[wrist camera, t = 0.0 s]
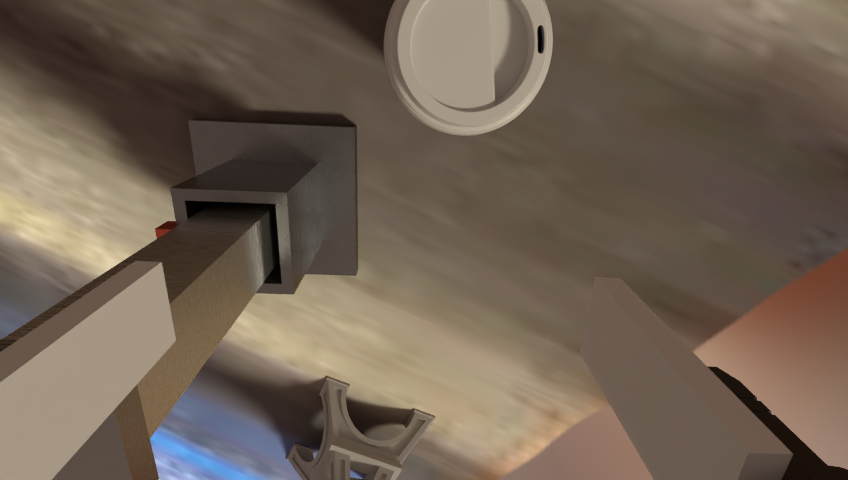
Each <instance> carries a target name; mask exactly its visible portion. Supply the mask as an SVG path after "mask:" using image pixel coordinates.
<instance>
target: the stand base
mask: <svg viewBox="0 0 848 480" xmlns="http://www.w3.org/2000/svg"><path fill="white" fill-rule="evenodd" d="M188 124H189V131H190V138H191V145H192V152H193V159H194V166H195V173H196V176H195V177H193V178H191V179H189V180H187V181H185V182H183V183H180V184H178V185H176V186H174V187H172V188H170V189H171V195H172V201H173V207H174V213H175V219H176V221H167V222H166V223H164V224H162V225H161V226H159V227H157V228H156V229H155V231H156V236H157V239H158V238H159V237H161V236H163V235H164V234H166V233H167V232H169V231H170V230H172V229H173V228H175V227H177V226H178V225H180V224H181V223H183V222H184V221H186V220H187V219H189V218H190V217H192V216H194V215H195V214H197V213H198V212H200V211H201V210H203V209H204V208H206V207H208V206H209V205H211V204H212V203H214V202H239V203H265V204H276V217H277V229H278V242H279V254H280V260H279V262H278V263H277V264H276V266H275V267H274V268H273V270H272V271H271V273H270V274H269V275H268V277H267V278H266V280H265V281H264V282H263V284H262V285H261V286H260V288H259V289H258V291H257V292H256V293H269V294H294V293H295V291H296V289H297V288H298V286H299V284H300V282H301V280H302V278H303V277H304V275H305V274H322V275H352V276H356V274H357V271H358V216H357V126H353V125H331V124H308V123H286V122H264V121H241V120H219V119H192V120H188Z"/></svg>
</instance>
